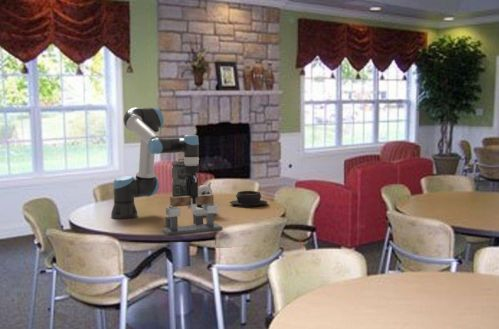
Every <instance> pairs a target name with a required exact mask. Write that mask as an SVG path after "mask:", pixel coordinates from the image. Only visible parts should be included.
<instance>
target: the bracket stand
mask: <svg viewBox="0 0 499 329" xmlns="http://www.w3.org/2000/svg"><path fill="white" fill-rule="evenodd" d="M203 211H204V212H206V216H205V217H206V218H205V219H206V222H205V223H203V224H200V225H195V224H191V225H190V224H189V225H181V226H179V225H178V217H181V208H180V207H172V206H166V207H165V215H166V216H167V217H170V228H168V227H163V228H161V232H162V233H164V234H165V235H166V236H172V235H174V236H175V235H182V234H183V235H186V234H194V233H202V232H203V233H204V232H213V231H221V229H222V230H223V226H222V225H220V224H218V223H216V222H215V221H214V220H215V218H214V216H215V214H218V213H219V210H218V204H216V203H214V204H203ZM214 213H215V214H214Z"/></svg>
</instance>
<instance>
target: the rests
mask: <svg viewBox="0 0 499 329" xmlns="http://www.w3.org/2000/svg"><path fill="white" fill-rule="evenodd" d="M192 218H193V219H192V220H193V225H200V224H204V216H203V215H201V214H193V217H192ZM164 219H165V220H164V221H165V228H170V217H169V216H165V218H164Z"/></svg>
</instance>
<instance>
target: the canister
mask: <svg viewBox="0 0 499 329" xmlns="http://www.w3.org/2000/svg"><path fill="white" fill-rule="evenodd" d="M180 160H181V161H180ZM171 165H172V168H171V178H172V184H171V186H172V188H171V189H172V192H171V194H172V197H178V196H188V195H187V194H186V176H187V175H188V173H185V172H184V166H185V164H184V158H179V159H178V161H177V160H176V161H173V162H172V163H171Z"/></svg>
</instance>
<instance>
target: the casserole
mask: <svg viewBox="0 0 499 329" xmlns="http://www.w3.org/2000/svg"><path fill="white" fill-rule="evenodd" d="M235 197H236V200H231V201H230V202H229V203H230V204H231V205H235V206H236V205H237V206H242V207H246V206H251V207H257V206H259V205H266V204H268V201H267V200H261V198H262V194H261V192H259V191H255V190H242V191H241V190H240V191H238V192H237V194H236V196H235Z"/></svg>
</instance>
